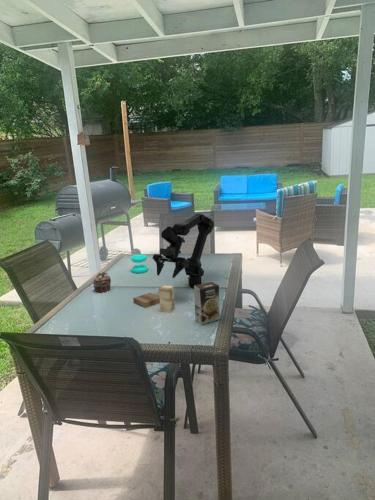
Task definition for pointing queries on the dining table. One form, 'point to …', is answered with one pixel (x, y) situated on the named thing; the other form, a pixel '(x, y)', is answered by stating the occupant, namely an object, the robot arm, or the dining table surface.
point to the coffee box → (206, 302)
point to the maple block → (166, 298)
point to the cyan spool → (139, 259)
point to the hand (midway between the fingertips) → (165, 276)
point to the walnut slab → (147, 300)
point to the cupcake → (102, 283)
